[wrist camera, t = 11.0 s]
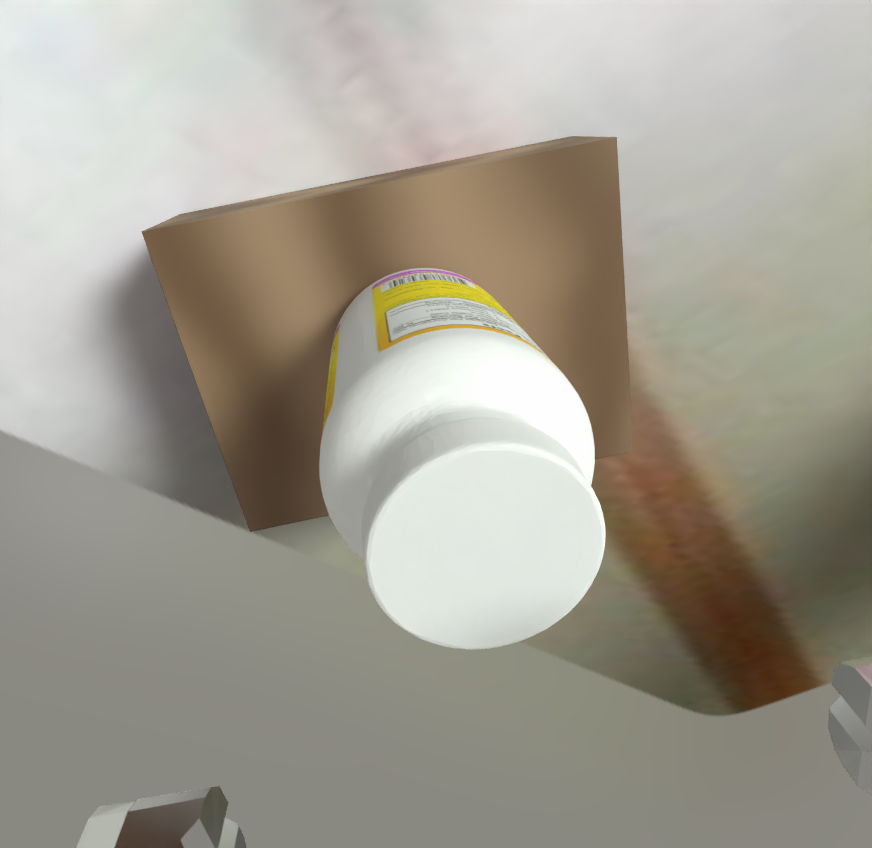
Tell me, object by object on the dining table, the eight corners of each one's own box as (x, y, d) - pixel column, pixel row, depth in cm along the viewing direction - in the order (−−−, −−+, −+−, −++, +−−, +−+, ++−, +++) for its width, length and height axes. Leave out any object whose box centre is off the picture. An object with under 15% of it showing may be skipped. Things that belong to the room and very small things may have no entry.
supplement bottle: (419, 467, 26) (469, 739, 14) (293, 354, 23) (227, 568, 12) (547, 353, 24) (720, 549, 13) (427, 221, 22) (505, 311, 10)
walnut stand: (572, 136, 26) (616, 137, 22) (593, 404, 31) (633, 451, 27) (180, 214, 26) (141, 231, 21) (266, 472, 31) (250, 531, 26)
